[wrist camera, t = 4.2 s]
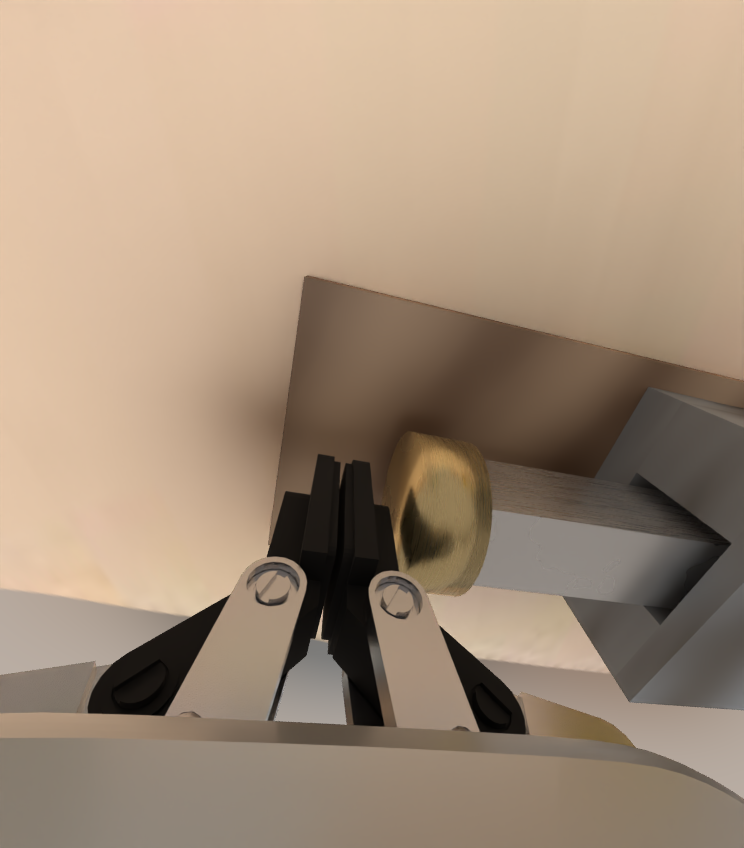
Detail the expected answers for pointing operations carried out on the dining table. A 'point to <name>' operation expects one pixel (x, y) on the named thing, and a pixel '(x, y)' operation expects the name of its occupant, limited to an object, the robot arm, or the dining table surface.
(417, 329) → the bearing stand
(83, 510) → the dining table surface
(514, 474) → the shaft
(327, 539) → the robot arm
